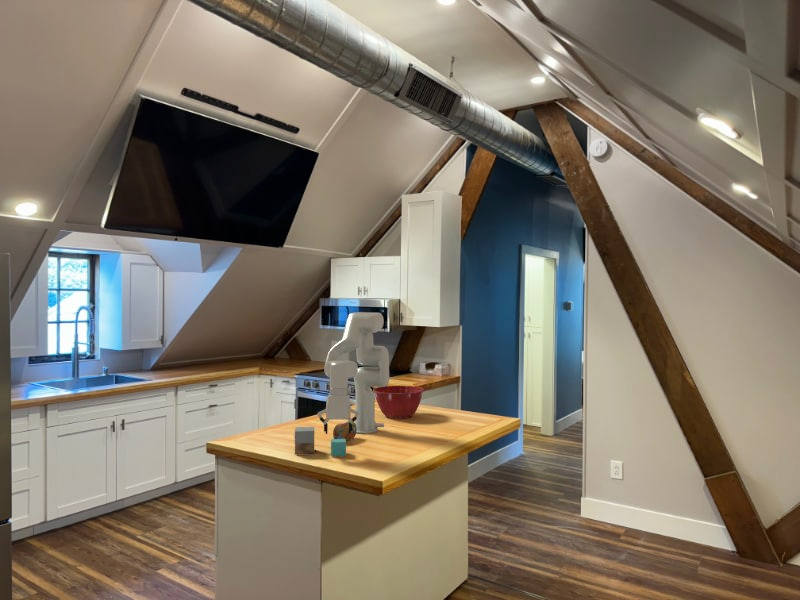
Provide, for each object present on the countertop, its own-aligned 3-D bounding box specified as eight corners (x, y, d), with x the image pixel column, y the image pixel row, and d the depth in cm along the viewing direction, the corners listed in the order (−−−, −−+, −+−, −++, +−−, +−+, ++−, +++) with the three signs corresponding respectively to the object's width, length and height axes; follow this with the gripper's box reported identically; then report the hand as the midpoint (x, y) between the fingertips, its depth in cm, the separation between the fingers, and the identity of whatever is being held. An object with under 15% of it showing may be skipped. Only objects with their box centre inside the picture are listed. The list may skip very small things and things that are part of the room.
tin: (337, 444, 253) (337, 425, 254) (331, 443, 255) (331, 424, 255) (357, 437, 266) (357, 420, 266) (351, 437, 268) (351, 419, 268)
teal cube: (345, 452, 240) (345, 438, 240) (345, 456, 234) (346, 442, 234) (330, 453, 239) (331, 439, 239) (331, 457, 233) (331, 442, 233)
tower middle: (314, 438, 245) (314, 426, 245) (314, 442, 237) (314, 430, 237) (295, 438, 244) (295, 427, 244) (294, 443, 236) (294, 431, 236)
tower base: (314, 449, 245) (314, 438, 245) (314, 454, 237) (314, 442, 237) (295, 450, 244) (295, 438, 244) (294, 455, 236) (294, 443, 236)
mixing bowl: (367, 420, 306) (367, 391, 306) (380, 410, 334) (380, 384, 334) (418, 422, 300) (418, 393, 300) (427, 412, 328) (427, 386, 328)
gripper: (358, 390, 241) (358, 430, 241) (317, 390, 239) (317, 431, 238) (360, 392, 234) (359, 434, 233) (317, 393, 231) (317, 435, 231)
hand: (338, 433), depth 236 cm, fingers open, 9 cm apart
